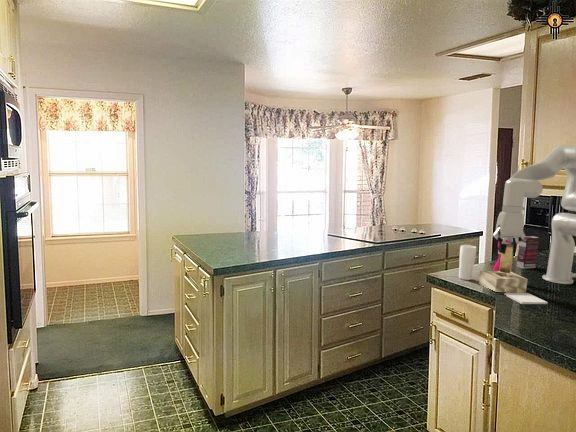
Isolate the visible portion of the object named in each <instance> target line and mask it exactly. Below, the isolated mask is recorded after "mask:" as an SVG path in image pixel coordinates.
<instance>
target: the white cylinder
mask: <svg viewBox="0 0 576 432" xmlns="http://www.w3.org/2000/svg"><path fill="white" fill-rule="evenodd" d="M476 256H477V246H476V245H475V246H474V245H471V244H460V247H459V260H458V261H459V263H458V264H459V265H458V266H459V267H458V268H459V269H458V278H459V279H460V280H463V281H471V279H472V276H473V275H472V274H473V270H474V267H475V262H476Z"/></svg>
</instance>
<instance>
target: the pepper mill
mask: <svg viewBox="0 0 576 432" xmlns="http://www.w3.org/2000/svg"><path fill="white" fill-rule="evenodd" d="M505 243H512V241H510V240H509V237H506V240H505ZM497 248H498V250H497V254H498V258H497V261H496V262H495V264H494V266H493V267H492V271H499V269H500V260H501V252H499V242H497Z"/></svg>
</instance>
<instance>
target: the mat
mask: <svg viewBox="0 0 576 432" xmlns="http://www.w3.org/2000/svg"><path fill="white" fill-rule="evenodd" d="M503 294H504V296H505V295H506V296H505V297H507V298H510V299H511V300H513V301H515V302H517V303H519V304H521V305H548V303H549V302H548V301H546V300H544V299H542V298H539V297H537V296H536V295H533V294H531V293H529V292H526V293H503Z"/></svg>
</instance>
